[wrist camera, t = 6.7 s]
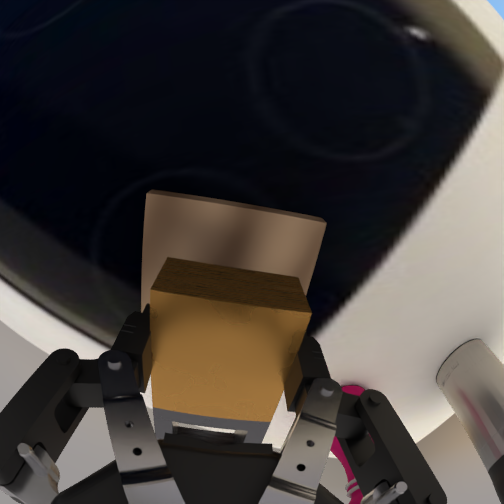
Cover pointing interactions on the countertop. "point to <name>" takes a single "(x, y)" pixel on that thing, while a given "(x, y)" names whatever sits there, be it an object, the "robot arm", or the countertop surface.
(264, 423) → the link
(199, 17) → the countertop surface
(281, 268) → the board
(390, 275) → the countertop surface
